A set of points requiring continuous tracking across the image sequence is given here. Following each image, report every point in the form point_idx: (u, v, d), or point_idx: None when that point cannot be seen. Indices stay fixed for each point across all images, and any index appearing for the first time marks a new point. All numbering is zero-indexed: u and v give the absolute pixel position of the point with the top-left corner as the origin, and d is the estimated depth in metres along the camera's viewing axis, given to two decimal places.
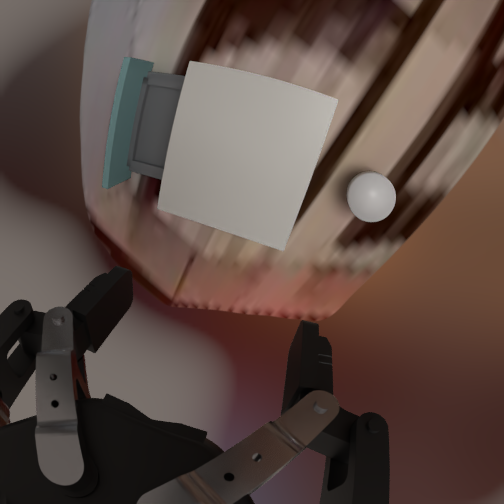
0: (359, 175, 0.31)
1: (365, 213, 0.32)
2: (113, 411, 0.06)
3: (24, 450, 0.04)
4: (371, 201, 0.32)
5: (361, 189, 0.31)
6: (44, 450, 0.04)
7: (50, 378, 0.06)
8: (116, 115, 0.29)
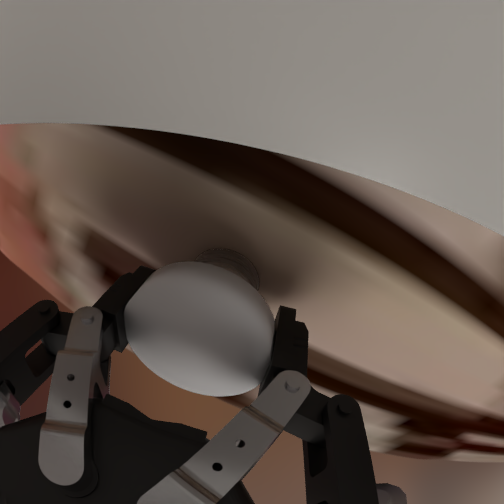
0: (254, 306, 0.10)
1: (143, 332, 0.10)
2: (113, 411, 0.06)
3: (24, 450, 0.04)
4: (181, 348, 0.10)
5: (207, 322, 0.09)
6: (44, 450, 0.04)
7: (67, 378, 0.06)
8: None
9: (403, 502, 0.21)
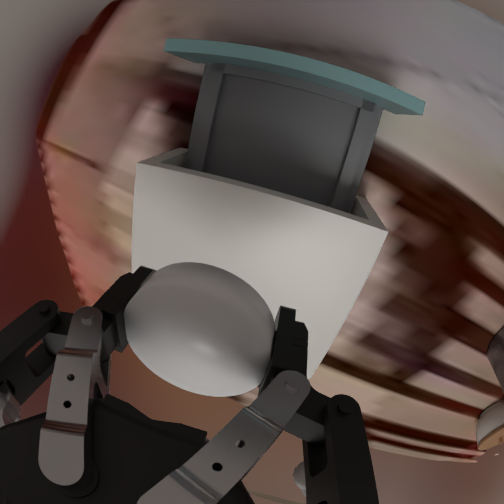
0: (254, 306, 0.10)
1: (143, 333, 0.10)
2: (113, 411, 0.06)
3: (24, 450, 0.04)
4: (180, 348, 0.10)
5: (207, 323, 0.09)
6: (44, 450, 0.04)
7: (67, 378, 0.06)
8: (311, 71, 0.15)
9: None
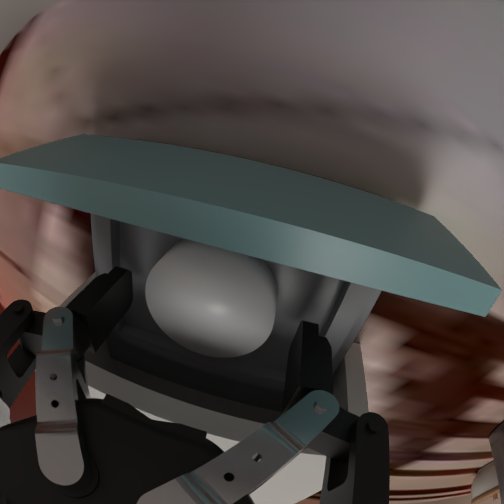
0: (260, 269, 0.12)
1: (163, 297, 0.12)
2: (113, 411, 0.06)
3: (24, 450, 0.04)
4: (196, 309, 0.12)
5: (221, 282, 0.12)
6: (44, 450, 0.04)
7: (50, 378, 0.06)
8: (240, 247, 0.07)
9: None
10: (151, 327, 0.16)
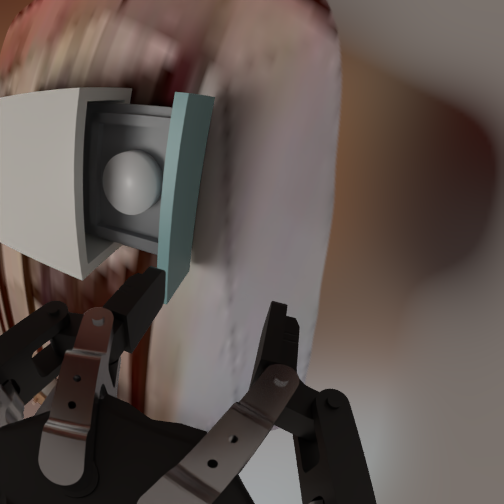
0: (152, 204, 0.25)
1: (128, 163, 0.23)
2: (113, 411, 0.06)
3: (24, 450, 0.04)
4: (127, 179, 0.24)
5: (142, 192, 0.24)
6: (44, 450, 0.04)
7: (73, 378, 0.06)
8: (161, 225, 0.21)
9: None
10: (105, 140, 0.24)
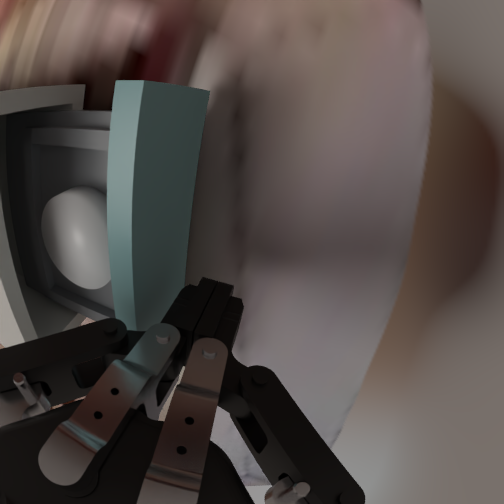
0: None
1: (70, 211, 0.13)
2: None
3: (24, 450, 0.04)
4: (72, 237, 0.14)
5: (96, 258, 0.14)
6: (44, 450, 0.04)
7: (111, 390, 0.06)
8: None
9: None
10: (44, 169, 0.14)
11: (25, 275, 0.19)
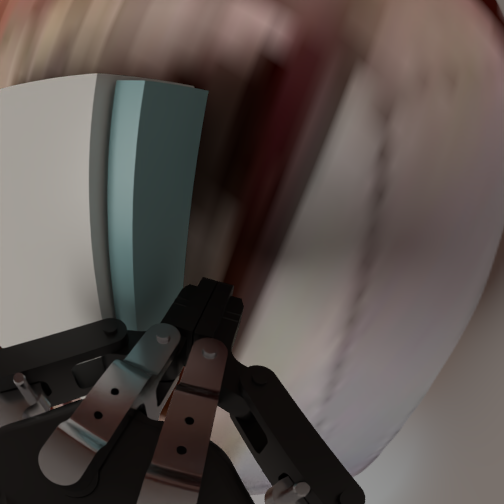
0: None
1: None
2: None
3: (24, 450, 0.04)
4: None
5: None
6: (44, 450, 0.04)
7: (111, 390, 0.06)
8: None
9: None
10: None
11: None
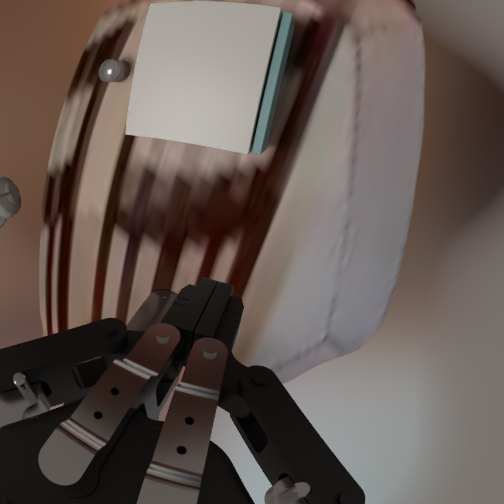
0: None
1: None
2: None
3: (24, 450, 0.04)
4: None
5: None
6: (44, 450, 0.04)
7: (111, 390, 0.06)
8: (266, 88, 0.27)
9: (14, 211, 0.45)
10: None
11: None
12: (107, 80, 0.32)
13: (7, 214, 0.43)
